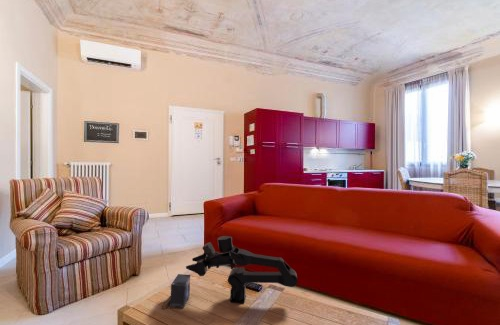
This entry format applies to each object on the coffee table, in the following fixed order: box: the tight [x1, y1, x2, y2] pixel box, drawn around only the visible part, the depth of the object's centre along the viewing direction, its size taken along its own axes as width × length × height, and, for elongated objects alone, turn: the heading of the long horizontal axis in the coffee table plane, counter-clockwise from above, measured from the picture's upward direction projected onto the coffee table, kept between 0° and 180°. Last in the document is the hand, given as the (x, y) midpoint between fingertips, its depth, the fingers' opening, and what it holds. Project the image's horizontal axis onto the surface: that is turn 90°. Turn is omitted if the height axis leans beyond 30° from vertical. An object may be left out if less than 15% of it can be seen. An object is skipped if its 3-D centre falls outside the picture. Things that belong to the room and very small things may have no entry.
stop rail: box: [161, 294, 171, 310], centre depth 117 cm, size 2×14×2 cm, turn 171°
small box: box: [169, 273, 191, 309], centre depth 116 cm, size 11×6×10 cm, turn 179°
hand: (189, 263), depth 121 cm, fingers open, 9 cm apart
